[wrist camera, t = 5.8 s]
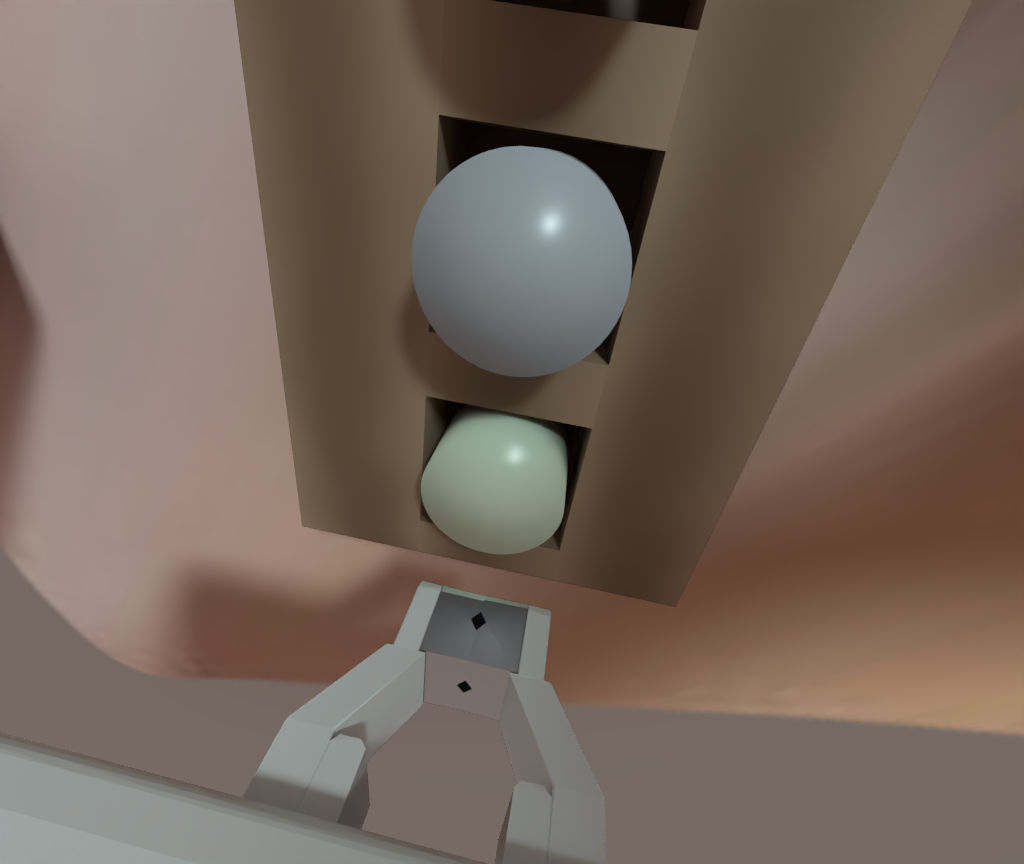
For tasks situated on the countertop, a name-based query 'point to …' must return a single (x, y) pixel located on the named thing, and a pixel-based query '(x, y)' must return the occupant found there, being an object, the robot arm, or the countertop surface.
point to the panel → (654, 239)
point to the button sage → (497, 480)
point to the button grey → (522, 260)
